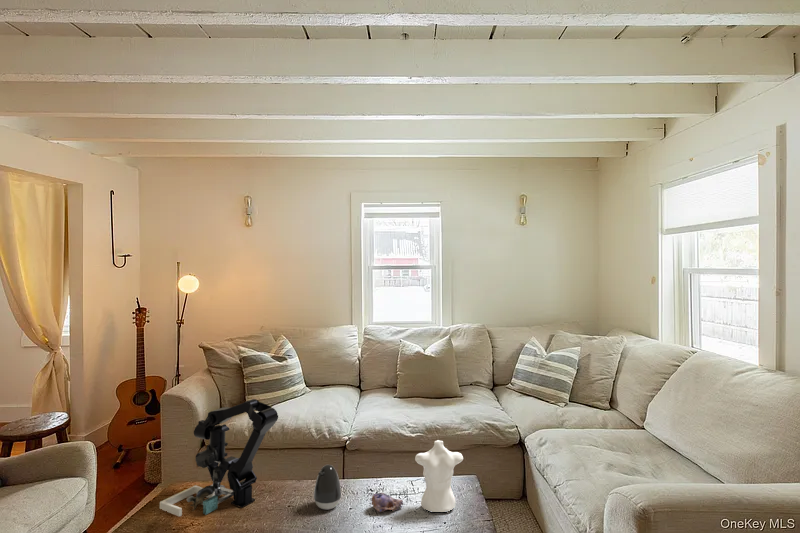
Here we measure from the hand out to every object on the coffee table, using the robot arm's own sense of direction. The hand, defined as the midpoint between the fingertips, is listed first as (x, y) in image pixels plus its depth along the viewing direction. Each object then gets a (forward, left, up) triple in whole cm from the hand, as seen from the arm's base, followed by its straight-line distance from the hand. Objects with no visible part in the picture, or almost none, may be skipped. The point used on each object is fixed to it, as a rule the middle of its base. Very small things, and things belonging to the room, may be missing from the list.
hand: (216, 481), depth 173 cm
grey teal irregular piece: (-3, +6, -5) cm, 8 cm away
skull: (-65, -22, -5) cm, 69 cm away
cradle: (-1, 0, -5) cm, 5 cm away
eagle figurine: (-2, +9, -5) cm, 10 cm away
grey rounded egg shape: (-44, -14, -5) cm, 46 cm away
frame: (+3, +10, -5) cm, 12 cm away
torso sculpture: (-81, -33, -5) cm, 87 cm away
